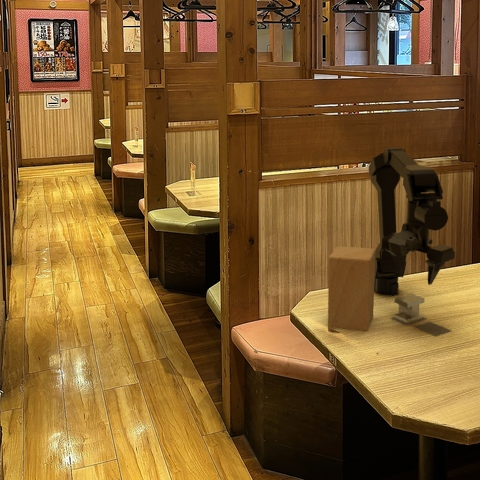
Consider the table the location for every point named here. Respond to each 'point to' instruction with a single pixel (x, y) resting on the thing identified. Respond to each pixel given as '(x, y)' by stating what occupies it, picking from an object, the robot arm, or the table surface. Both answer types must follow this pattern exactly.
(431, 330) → the stand
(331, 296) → the wooden block
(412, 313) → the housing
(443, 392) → the table surface
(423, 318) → the stand
